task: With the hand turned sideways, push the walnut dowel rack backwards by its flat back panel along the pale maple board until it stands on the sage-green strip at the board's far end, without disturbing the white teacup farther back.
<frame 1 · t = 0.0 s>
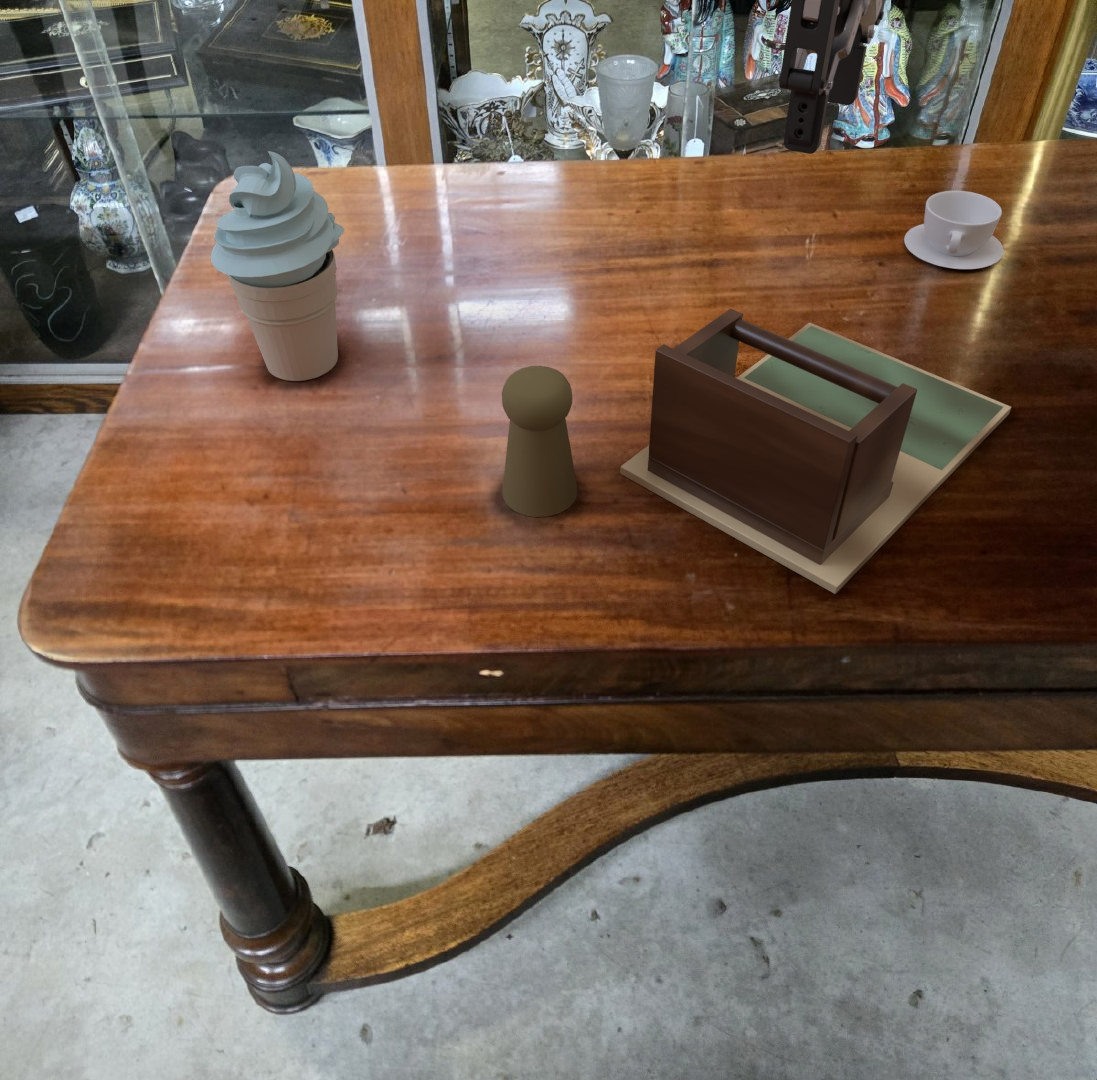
hand: (820, 124, 69), 26 cm above the table, tool pointing down, fingers open, 8 cm apart
rack: (766, 483, 82), point 1 cm above the table, touching board
olive pawn: (540, 493, 83), on the table
board: (819, 443, 86), on the table
teacup: (951, 250, 109), on the table
ice cream cone: (303, 364, 96), on the table
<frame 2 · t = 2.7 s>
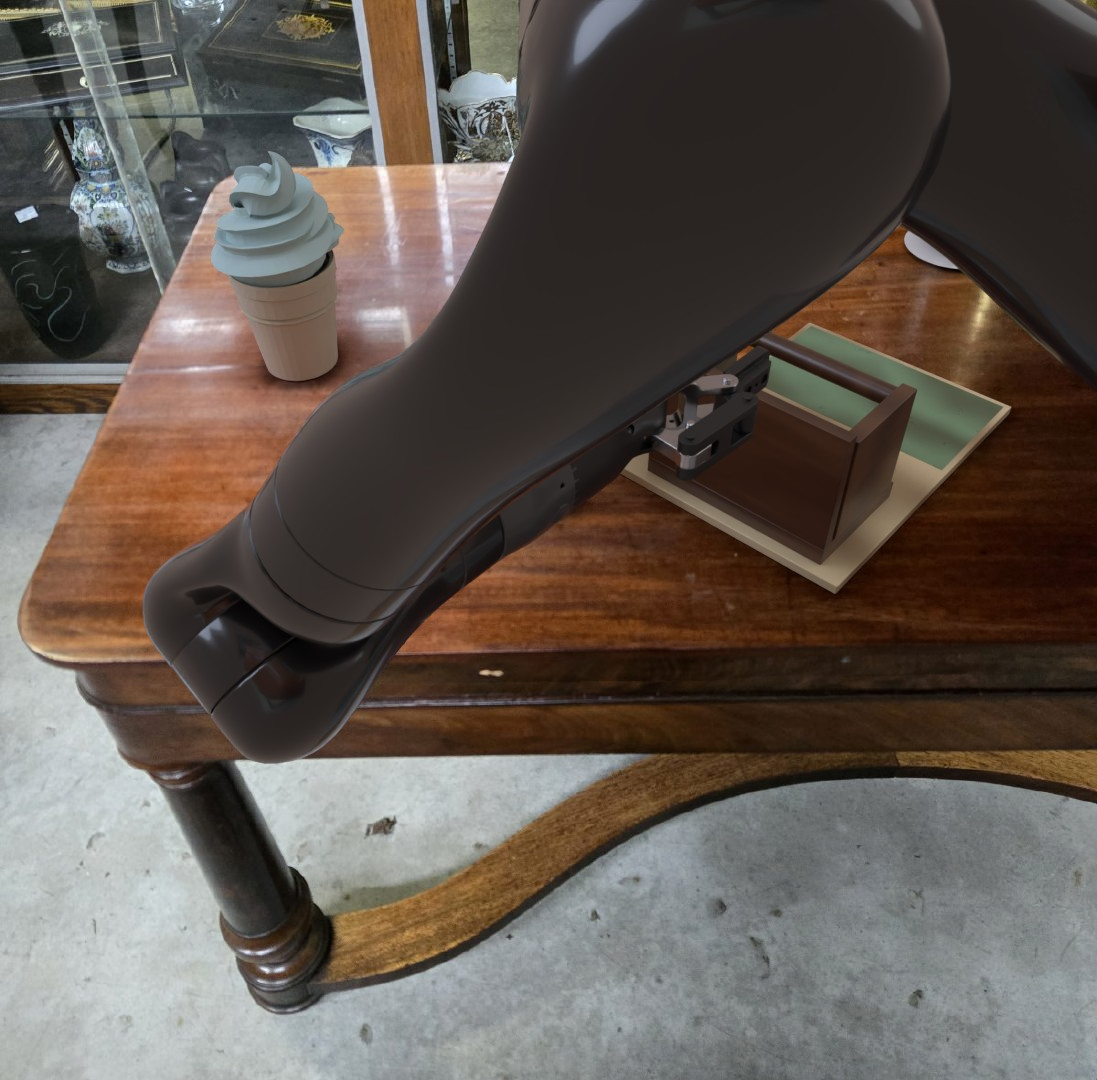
hand: (704, 333, 63), 20 cm above the table, tool horizontal, fingers open, 8 cm apart
nothing on the table moved.
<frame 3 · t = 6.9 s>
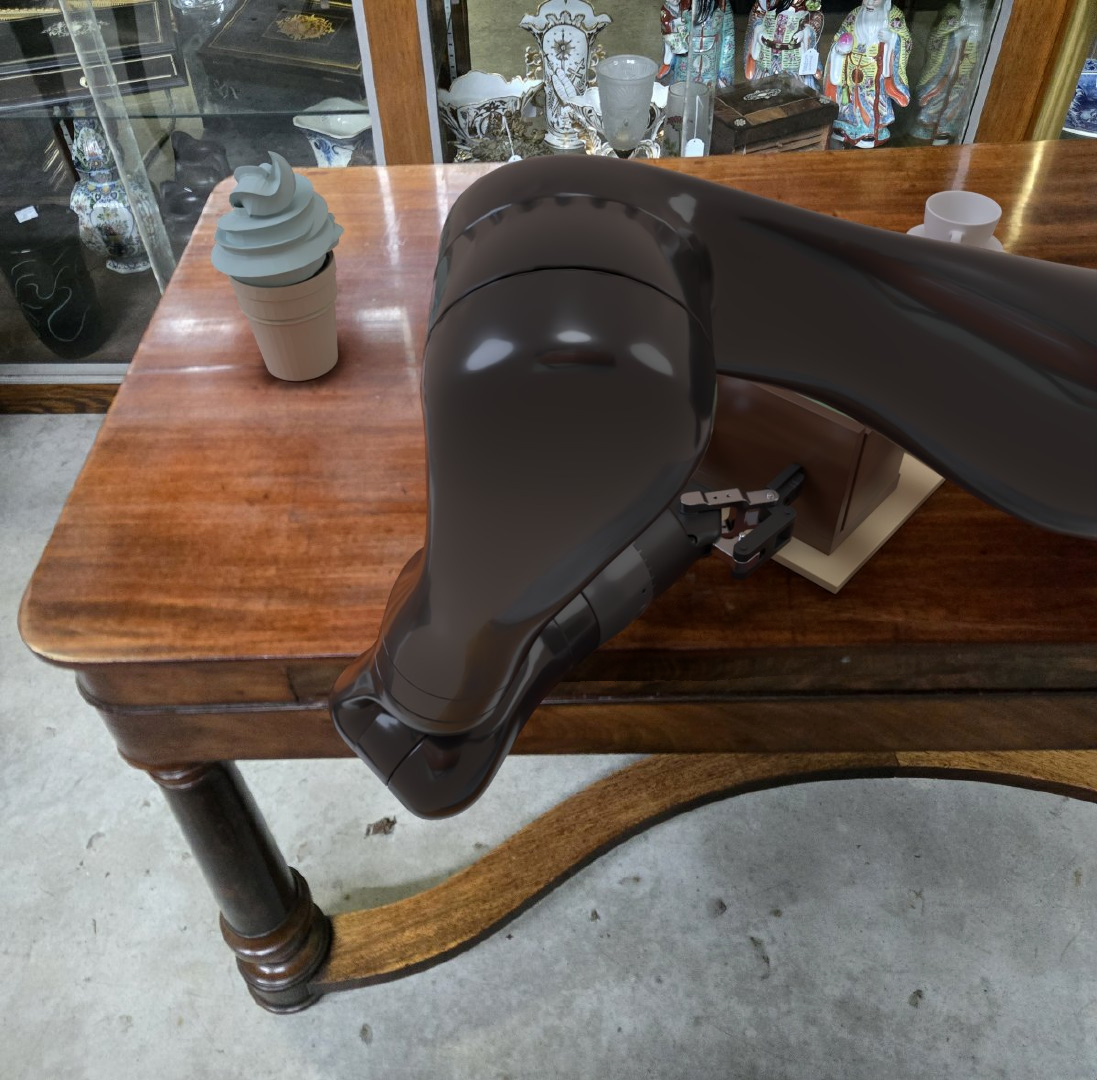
hand: (747, 448, 76), 7 cm above the table, tool horizontal
rack: (774, 475, 82), point 1 cm above the table, touching gripper
everything else where it was.
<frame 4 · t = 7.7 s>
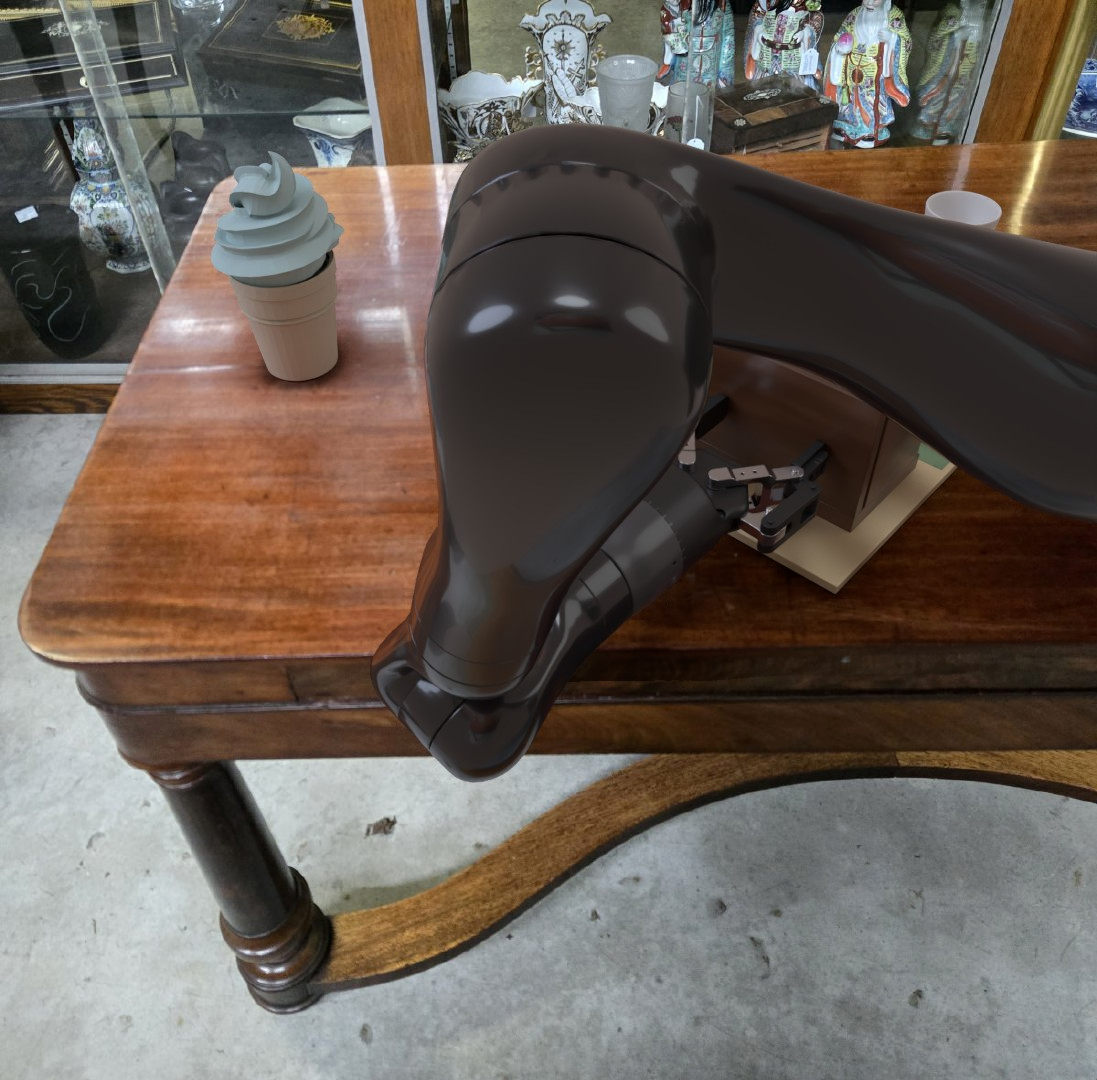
hand: (771, 426, 77), 7 cm above the table, tool horizontal
rack: (795, 455, 84), point 1 cm above the table, touching board, gripper
everything else where it was.
when the fingers open (7 cm above the table, at t = 8.9 s): rack stays where it is, point 1 cm above the table.
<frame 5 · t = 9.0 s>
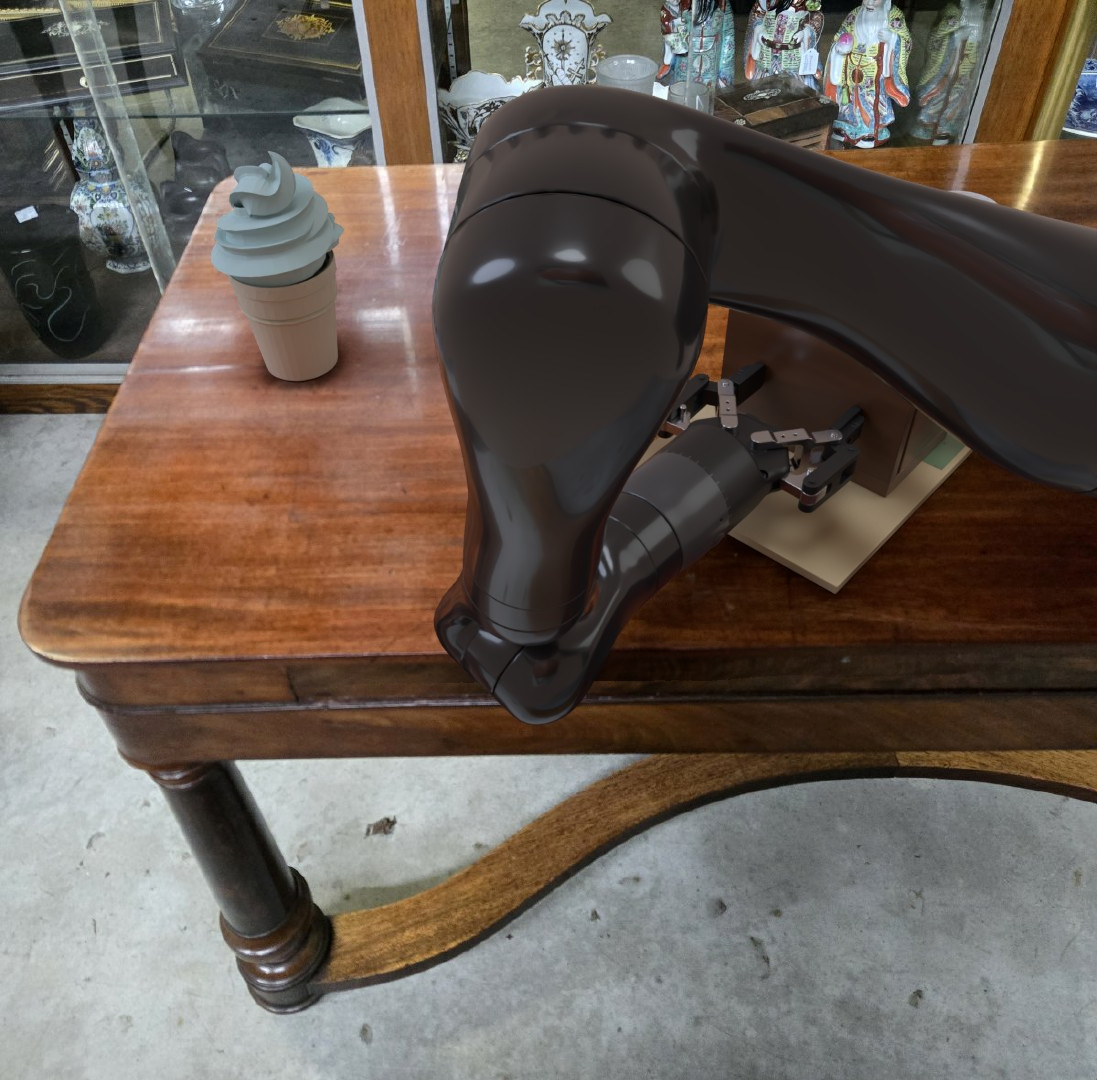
hand: (807, 393, 80), 7 cm above the table, tool horizontal, fingers open, 8 cm apart
rack: (829, 425, 87), point 1 cm above the table, touching gripper
everything else where it was.
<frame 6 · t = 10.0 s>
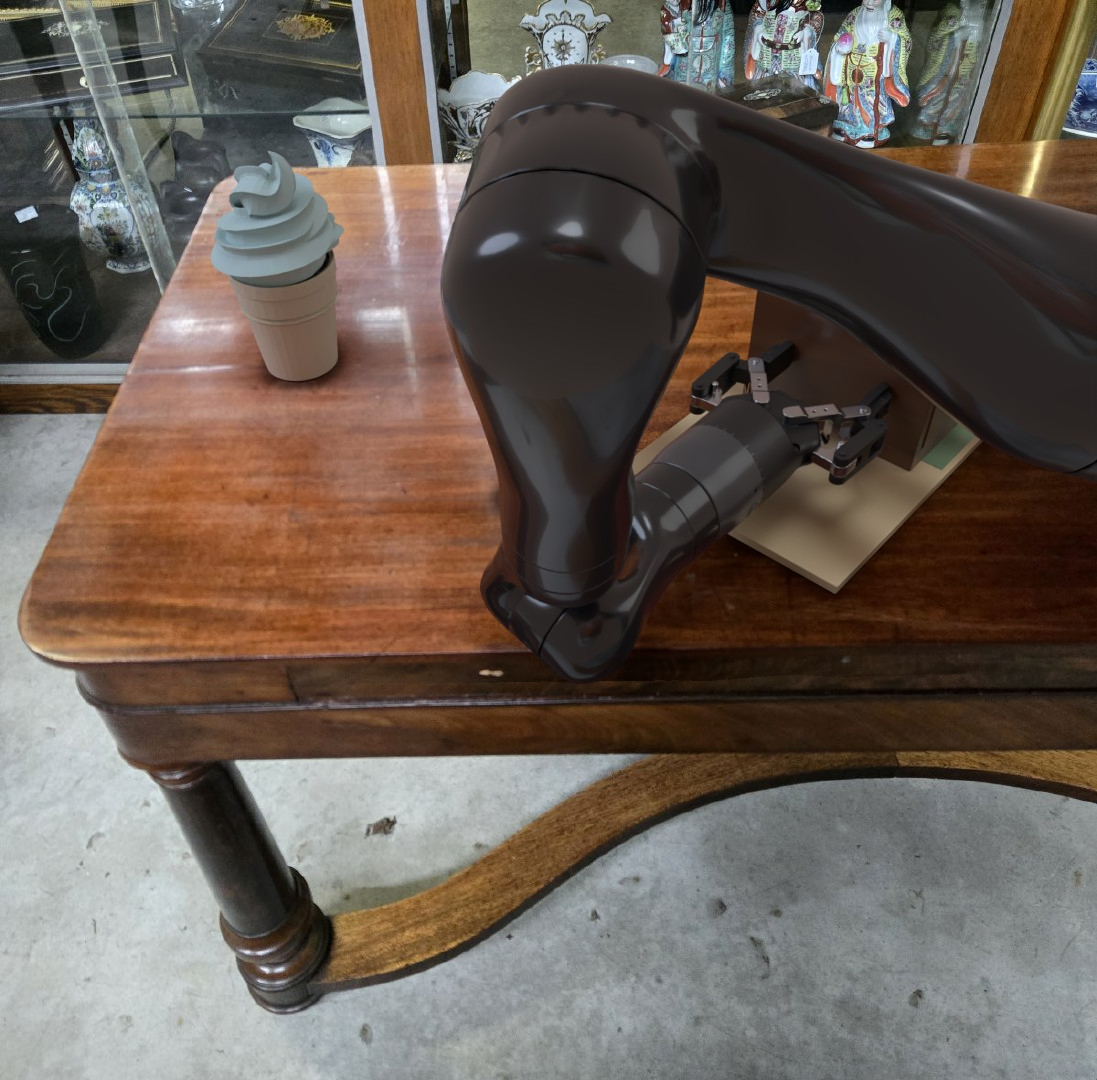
hand: (835, 372, 82), 7 cm above the table, tool horizontal
rack: (853, 403, 89), point 1 cm above the table, touching board, gripper
everything else where it was.
when the fingers open (7 cm above the table, at t = 11.1 s): rack stays where it is, resting on board.
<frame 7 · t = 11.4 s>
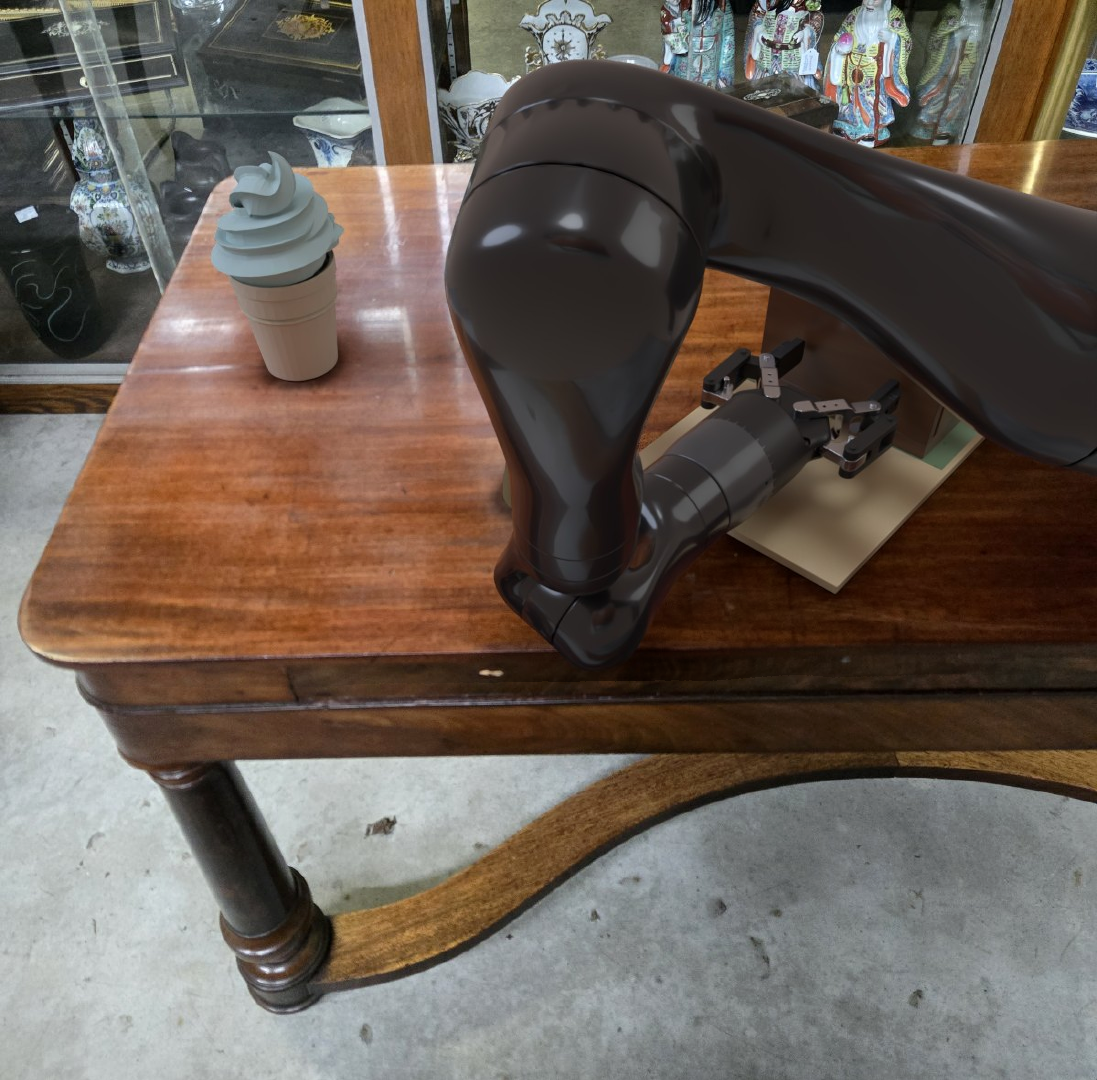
hand: (845, 368, 83), 6 cm above the table, tool horizontal, fingers open, 8 cm apart
rack: (865, 392, 90), point 1 cm above the table, touching board
everything else where it was.
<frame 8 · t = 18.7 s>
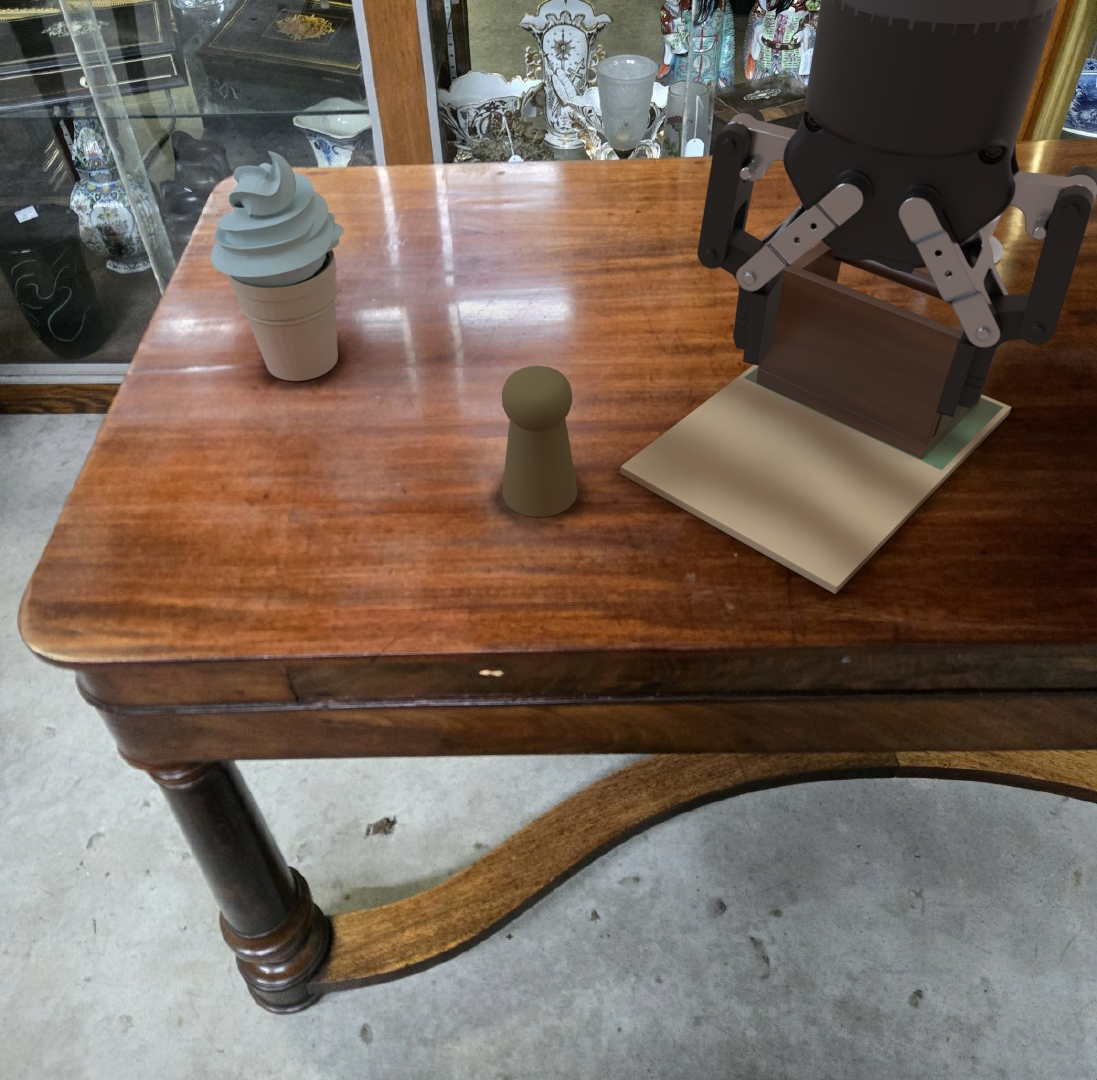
hand: (849, 379, 45), 28 cm above the table, tool pointing down, fingers open, 8 cm apart
nothing on the table moved.
at the end: rack inside the target area on the board (0.5 cm from its centre), point 0.8 cm above the board's base; rack tilted 0°; teacup moved 0.2 cm from its start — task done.
